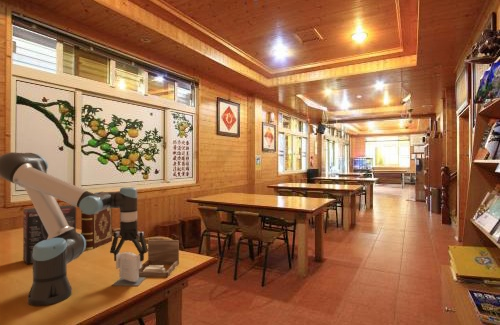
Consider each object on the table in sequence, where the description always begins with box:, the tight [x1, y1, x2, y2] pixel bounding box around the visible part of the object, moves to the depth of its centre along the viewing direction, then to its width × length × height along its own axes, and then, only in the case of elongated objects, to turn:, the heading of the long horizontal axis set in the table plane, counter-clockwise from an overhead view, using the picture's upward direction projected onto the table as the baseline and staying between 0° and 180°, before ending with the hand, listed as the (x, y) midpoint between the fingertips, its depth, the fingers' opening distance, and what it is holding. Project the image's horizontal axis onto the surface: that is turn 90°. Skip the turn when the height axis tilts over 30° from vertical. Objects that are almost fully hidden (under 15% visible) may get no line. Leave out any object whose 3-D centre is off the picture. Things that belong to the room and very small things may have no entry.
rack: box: [139, 239, 180, 278], centre depth 153 cm, size 19×17×13 cm
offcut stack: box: [142, 264, 167, 273], centre depth 148 cm, size 7×10×4 cm, turn 88°
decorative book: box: [79, 208, 113, 251], centre depth 200 cm, size 22×8×30 cm, turn 168°
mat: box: [111, 277, 147, 287], centre depth 138 cm, size 9×12×1 cm
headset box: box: [22, 200, 77, 265], centre depth 174 cm, size 25×12×33 cm, turn 136°
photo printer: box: [118, 251, 139, 282], centre depth 138 cm, size 10×4×12 cm, turn 61°
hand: (129, 267), depth 138 cm, fingers closed on photo printer, 10 cm apart
